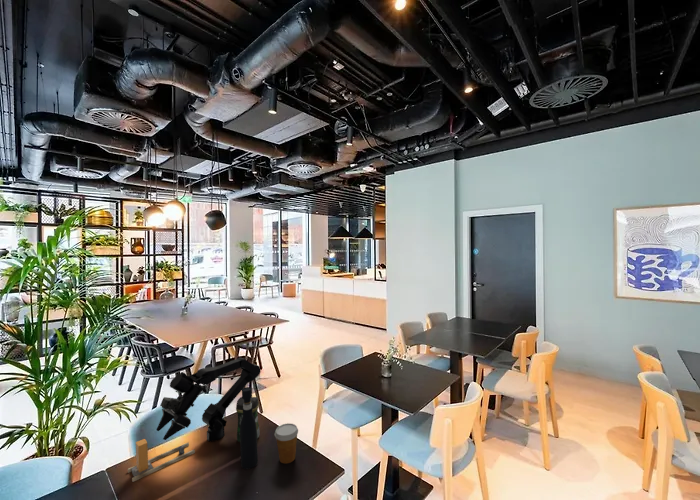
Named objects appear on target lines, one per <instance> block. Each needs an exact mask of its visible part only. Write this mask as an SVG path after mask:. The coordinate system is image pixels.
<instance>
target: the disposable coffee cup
mask: <svg viewBox="0 0 700 500" xmlns="http://www.w3.org/2000/svg"><path fill="white" fill-rule="evenodd" d="M298 434H299V428H298V426H297V425H296V424H294V423H290V422H287V423H283V424H281V425H279V426H277V427H276V429H275V432H274V437H275V439H276V446H277V450H278V451H277V452H278V458H279V462H280V463H281V464H290V463H292V462H293V461H294V460H295V459H296V453H297V441H298V440H297V439H298Z"/></svg>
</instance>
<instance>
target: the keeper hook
mask: <svg viewBox="0 0 700 500" xmlns="http://www.w3.org/2000/svg"><path fill="white" fill-rule="evenodd" d="M181 445H182V446H181ZM181 445H179V446H180V447H179V446H178V447H179V448H177V447H176V448H177V450H178V455H179V456H181V455H183V454H185V448H184V446H183V444H181Z"/></svg>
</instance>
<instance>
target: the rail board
mask: <svg viewBox="0 0 700 500" xmlns="http://www.w3.org/2000/svg"><path fill="white" fill-rule="evenodd" d="M182 445H183V446H184V449H185V448H187V447H189V446H190V443H189V441H188V442H186V443H184V444H183V443H182V444H180V445H179V446H177V447H175V448H172V449H170V450H168V451H165V452H163V453H160V454H158V455H156V456H154V457H151V458H148V461H150V463H151V464H152V463H154V462H155V461H158V460H160V459H162V458H165V457H168V456H169V455H171V454H173V453H175V452H179V450H177V448H179V447H180V446H182ZM195 453H196V450H195V448H194V449H192V450H189V451H187V452H184V454H182V455H179V456H176V457H174V458H172V459H170V460H168V461H166V462H164V463H162V464H159V465H157V466H154V467H153V469H150V470H148V471H146V472H144V473H142V474H140V475H137V476H135V477H134V476H133V477H132V478H131V481H132V482H136V481H138V480H140V479H142V478H144V477H146V476H149V475H151V474H153V473H154V472H157V471H159V470H161V469H164V468H166V467H167V466H169V465H173V464H174V463H176V462H178V461H180V460H183V459H185V458H187V457H189V456H191V455H194V454H195ZM136 466H137V464H135V465H134V466H131V467H128V468H127V473H132V471H131V469H132V468H134V467H136Z"/></svg>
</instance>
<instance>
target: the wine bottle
mask: <svg viewBox="0 0 700 500" xmlns="http://www.w3.org/2000/svg"><path fill="white" fill-rule="evenodd" d="M241 397H242V399H244V404H243V417H242V421H241V425H240V442H239V443H240V444H239V445H240V467H241V468H242V469H244V470H248V469H252V468H254V467H256V466H257V465H258V463H259V460H258V457H259V456H258V439H257V426H256V421H255V418H254V416H253V409H252V404H251V399H250V398H251V397H253V389H252V387H251V386H249V387H248V386H247V387H246V386H245V387H244V388H243V389H242V390H241Z"/></svg>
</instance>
